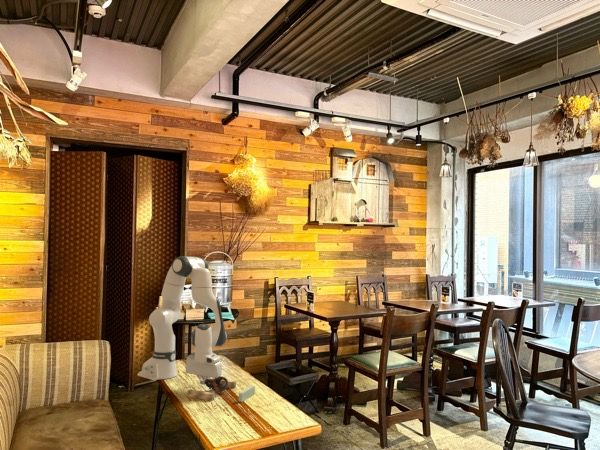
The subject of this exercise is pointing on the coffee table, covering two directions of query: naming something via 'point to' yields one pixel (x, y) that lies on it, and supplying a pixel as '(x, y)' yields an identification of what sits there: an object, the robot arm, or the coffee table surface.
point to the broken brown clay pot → (217, 384)
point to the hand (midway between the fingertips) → (203, 384)
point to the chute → (206, 394)
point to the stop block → (246, 393)
